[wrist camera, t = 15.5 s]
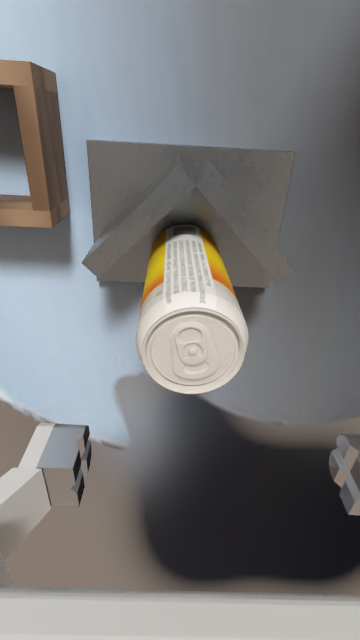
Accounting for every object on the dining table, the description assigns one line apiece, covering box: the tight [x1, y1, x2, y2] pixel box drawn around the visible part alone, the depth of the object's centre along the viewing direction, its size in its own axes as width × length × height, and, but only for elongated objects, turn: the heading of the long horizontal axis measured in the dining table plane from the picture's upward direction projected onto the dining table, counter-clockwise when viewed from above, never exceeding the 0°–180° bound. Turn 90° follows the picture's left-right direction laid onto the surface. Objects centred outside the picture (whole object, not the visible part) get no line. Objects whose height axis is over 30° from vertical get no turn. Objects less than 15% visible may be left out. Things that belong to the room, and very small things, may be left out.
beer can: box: [136, 225, 249, 394], centre depth 24 cm, size 6×6×15 cm
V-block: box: [82, 140, 296, 288], centre depth 26 cm, size 16×12×8 cm
